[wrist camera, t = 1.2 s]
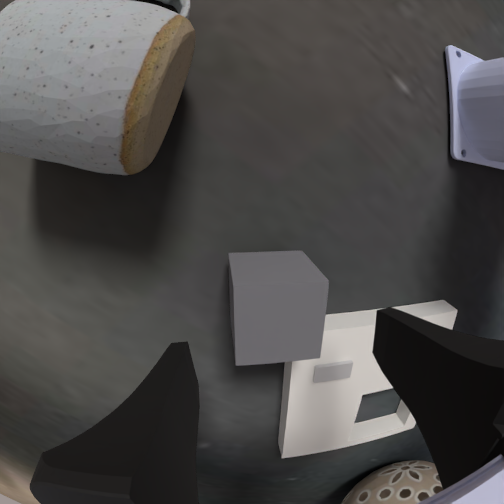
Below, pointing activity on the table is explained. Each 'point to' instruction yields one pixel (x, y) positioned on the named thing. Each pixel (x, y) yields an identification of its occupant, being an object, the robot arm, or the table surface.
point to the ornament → (397, 484)
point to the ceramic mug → (91, 80)
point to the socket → (343, 385)
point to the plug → (276, 307)
